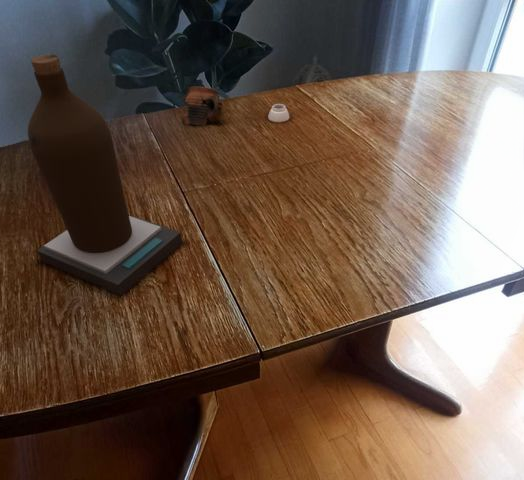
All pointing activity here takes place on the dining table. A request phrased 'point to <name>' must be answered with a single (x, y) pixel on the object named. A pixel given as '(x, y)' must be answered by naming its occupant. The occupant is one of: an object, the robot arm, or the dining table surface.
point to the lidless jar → (278, 113)
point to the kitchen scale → (114, 256)
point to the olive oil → (77, 162)
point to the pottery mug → (201, 105)
